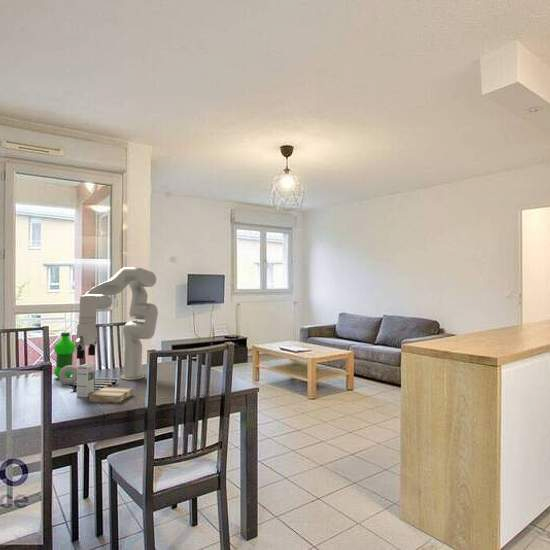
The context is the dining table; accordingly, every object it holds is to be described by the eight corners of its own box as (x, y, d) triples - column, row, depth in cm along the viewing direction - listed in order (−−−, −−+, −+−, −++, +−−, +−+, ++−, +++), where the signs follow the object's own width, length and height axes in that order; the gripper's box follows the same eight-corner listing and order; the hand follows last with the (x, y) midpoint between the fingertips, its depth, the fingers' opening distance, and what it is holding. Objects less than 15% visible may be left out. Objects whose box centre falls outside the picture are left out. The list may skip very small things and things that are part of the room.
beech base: (104, 393, 204) (105, 387, 204) (132, 394, 202) (132, 388, 202) (89, 401, 190) (89, 394, 190) (118, 403, 188) (119, 396, 188)
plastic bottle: (68, 374, 239) (70, 331, 240) (77, 377, 233) (78, 332, 233) (50, 377, 232) (51, 332, 232) (59, 380, 225) (60, 334, 225)
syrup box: (87, 397, 196) (88, 366, 196) (76, 396, 197) (77, 365, 197) (94, 394, 201) (95, 364, 202) (83, 393, 203) (84, 363, 203)
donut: (80, 383, 220) (80, 364, 221) (77, 385, 217) (78, 366, 217) (59, 383, 219) (60, 364, 219) (57, 385, 216) (58, 366, 216)
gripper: (89, 319, 209) (88, 353, 208) (69, 321, 191) (67, 359, 191) (104, 319, 208) (102, 354, 207) (85, 322, 191) (83, 360, 190)
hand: (86, 356), depth 199 cm, fingers open, 9 cm apart
